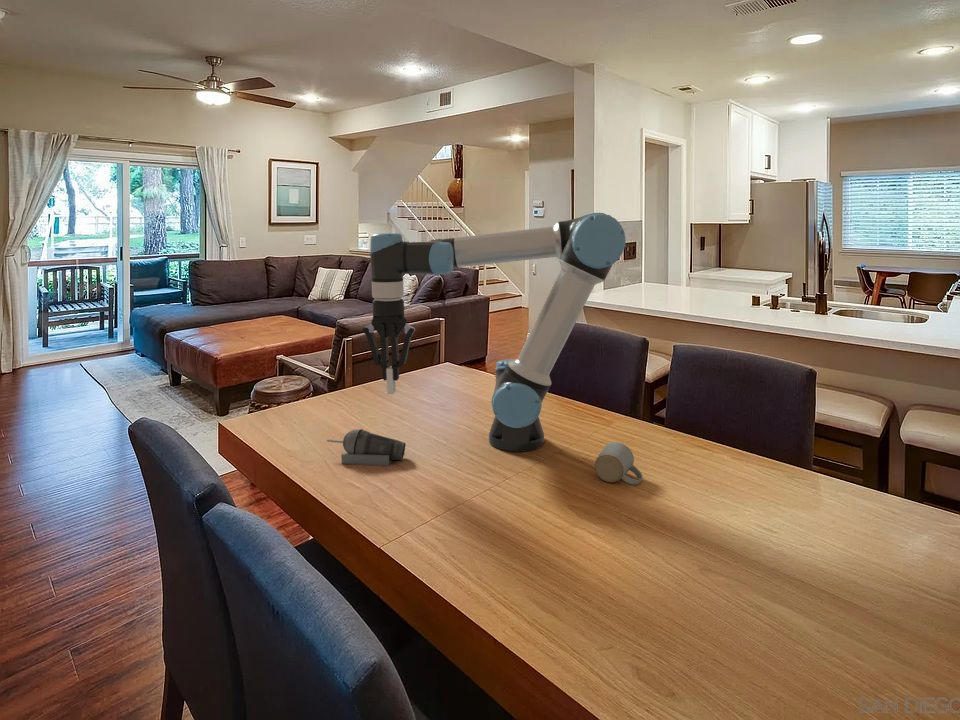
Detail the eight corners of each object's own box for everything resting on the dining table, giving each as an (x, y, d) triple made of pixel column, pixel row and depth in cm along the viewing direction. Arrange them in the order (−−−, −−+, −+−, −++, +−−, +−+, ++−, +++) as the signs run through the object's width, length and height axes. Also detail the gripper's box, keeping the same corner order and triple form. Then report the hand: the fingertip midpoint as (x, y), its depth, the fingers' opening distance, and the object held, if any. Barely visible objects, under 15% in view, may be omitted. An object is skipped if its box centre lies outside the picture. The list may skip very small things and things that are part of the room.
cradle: (398, 449, 156) (398, 440, 155) (388, 465, 145) (388, 456, 145) (354, 447, 157) (354, 439, 156) (341, 463, 146) (341, 454, 146)
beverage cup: (400, 451, 143) (320, 437, 144) (399, 471, 148) (322, 457, 149) (407, 431, 149) (331, 417, 150) (406, 450, 154) (332, 437, 154)
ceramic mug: (591, 480, 137) (593, 450, 135) (602, 467, 144) (604, 438, 142) (637, 491, 132) (639, 459, 131) (645, 477, 139) (648, 447, 138)
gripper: (417, 297, 144) (420, 389, 149) (366, 296, 145) (370, 387, 151) (411, 301, 137) (414, 397, 142) (357, 300, 138) (361, 396, 143)
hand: (391, 392), depth 146 cm, fingers closed
